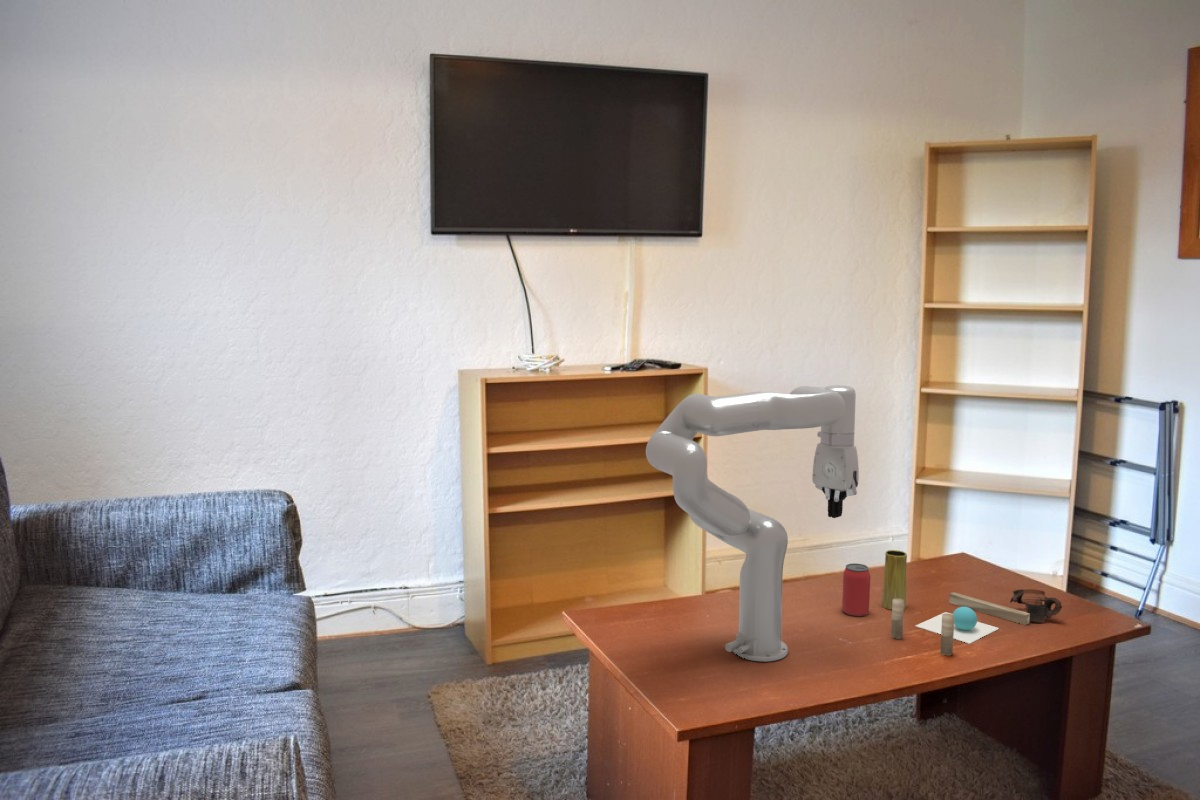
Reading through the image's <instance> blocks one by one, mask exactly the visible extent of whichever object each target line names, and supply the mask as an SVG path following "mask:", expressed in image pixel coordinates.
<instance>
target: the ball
mask: <svg viewBox="0 0 1200 800" xmlns="http://www.w3.org/2000/svg"><path fill="white" fill-rule="evenodd" d="M952 614H953V615H954V616H955V617H954V625H955V626H956V627H957V628H959V629H961V630H965V631H967V630H971V629H973V628H974V627H975V626H976V624H977V622H978V616H977V613H976V611H975V610H972V609H970V608H968V607H961V606H958V607H957V608H956V609H955V610H954V611H953V612H952Z"/></svg>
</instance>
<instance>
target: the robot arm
mask: <svg viewBox="0 0 1200 800" xmlns="http://www.w3.org/2000/svg"><path fill="white" fill-rule="evenodd" d="M856 398H857V397H856V390H855V388H853V387H851V386H847V385H838V384H836V385H828V386H823V387H822V386H809V385H804V386H803V385H802V386H801V385H800V386H798V387H795V388H794V389H793V390H791V391H790V392H789V394H788V393H777V392H773V391H772V392H771V391H769V392H768V391H752V392H743V393H736V394H729V395H721V396H711V395H707V394H703V393H693V394H690V395H688V396H686V397H685V398H684V399H683V400H682V401H680V402H679V403H678V404H677V405H676V406H675V407H674V408H673V410H672V411H671V412H670V413H669V414H668V416H667V417H666V418H665V419H664V420H663V422H661V424H660V425H659V427H657V429H655V431H654V432H653V433H652V435H651V436H650V438H649V439H648V441H647V444H646V447H645V456H646V460H647V461H648V463H649V465H650V466H652V467H653V468H654V469H656V470H657V471H661V472H663V473H666V474H668V475H670V476H672V492H673V497H674V500H675V503H676V504H677V506H678V507H679V508H680V509H682V510H683V511H684V512H685V513H687V514H688V516H689V518H690V520H691V521H692V522H693V523H694V525H696V526H697V527H698V528H700V529H702V530H704V531H705V532H707V533H708V534H710V535H712V536H714V537H715V538H717V539H719V540H720V541H722V542H724V543H726V544H727V545H729V546H731V547H733V548H735V549H737V550H739V551H741V552H742V553H745V558H744V560H743V563H742V566H741V568H740V573H739V595H738V597H739V598H738V599H739V600H738V601H739V610H738V616H739V617H738V632H737V633H736V635H735V639H734V640H733V641H730V642H727V643H725V646H724V647H725V651H727V652H728V653H731V652H733V654H735V655H736V654H737V655H738V656H737V655H736V656H737V657H739V656H740V658H741V657H742V659H744V658H745V659H744V660H748V661H753V662H761V663H762V662H764V663H766V662H775V661H780V660H782V659H784V658H785V657H786V656H788V652H789V647H788V645H787V644H786V643H785V642H784V641H782V621H783V620H782V619H783V618H782V616H783V614H782V612H783V571H784V563H785V558H786V557H785V556H786V552H787V549H788V544H789V543H788V542H789V537H788V533H787V530H786V528H785V527H784V525H783V524H782V523H780V521H778V520H777V519H775V518H773V517H770V516H769V515H766V514H763V513H761V512H758V511H755V510H753V509H751V508H748V507H747V505H746V503H744V501H743V500H741V498H739V497H738V496H736V495H734V494H732V493H729V492H728V491H726V490H725V489H723V488H721V487H720V486H718V485H717V484H715V483H714V482H712V481H711V480H710V479H709V477H708V460H707V455H706V452H705V450H704V449H703V447H702V446H701V445H700V444H699V443H698V442H696V441H694V438H695V437H696V436H697V434H701V435H705V436H708V437H725V436H729V435H730V436H732V435H736V434H743V433H749V432H750V433H751V432H758V431H778V430H779V431H781V430H797V429H798V430H800V429H801V430H803V429H814V428H820V431H817V434H816V435H817V437H818V438H820V442H819V443H817V444H816V447H815V450H814V451H815V452H814V456H813V457H814V458H813V465H812V475H811V477H812V483H813V484H814V486H815V488H816V489H817V490H819V491H822V492H823V494H824V495H825V499H826V500H827V516H828V518H832V519H837V518H840V517H842V515H843V508H844V507H843V505H844V503H843V501H845V499H846V498H847V497H852V496H856V495H857V488H858V485H859V481H860V480H859V478H860V477H859V475H860V472H859V457H858V451H857V446H855V429H856V428H855V424H856V423H855V422H856Z"/></svg>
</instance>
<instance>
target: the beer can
mask: <svg viewBox="0 0 1200 800" xmlns="http://www.w3.org/2000/svg"><path fill="white" fill-rule="evenodd" d="M869 569H870V568H869V567H868V566H867V565H866V564H862V563H854V562H853V563H848V564H846V565H845V568H844V570H843V575H842V600H841V601H842V604H841V605H842V606H841V610H842V612H843V613H845V614H846V615H849V616H853V617H864V616H866V615H868V614H869V612H870V599H871V597H870V595H871V593H870V592H871V591H870V590H871V573H870V571H869Z"/></svg>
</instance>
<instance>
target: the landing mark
mask: <svg viewBox="0 0 1200 800" xmlns="http://www.w3.org/2000/svg"><path fill="white" fill-rule="evenodd" d="M945 613H947V614H952V615H953V613H952V612H951V613H950V612H946V611H945V612H942V613H941V614H938V615H935V616H934V617H932V618H931V617H930V619H927V620H925V621H923V622H920V623H918V624H916V625H915V626H914V627H916V628H919V629H922V630H924V629H925V631H928V632H931V633H934V634H937V633H938V634H937V635H940V634H941V629H942V614H945ZM998 630H1000V628H999V627H997V626H993V625H990V624H987V623H983V622H980V621H977V624H976V626H975V627H974V628H973V629H971V630H967V631H965V630H961V629H959V628H957V627H956V626H955V625H954V636H953V640H955V639H956V641H959V642H961V641H962V643H964V642H965V644H968V645H971V644H972V643H975V642H977V641H979V640H980V638H981V639H982V637H983V638H985V637H986V635H987V636H988V635H990V634H993V633H994V632H995V631H998ZM984 636H985V637H984Z"/></svg>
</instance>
